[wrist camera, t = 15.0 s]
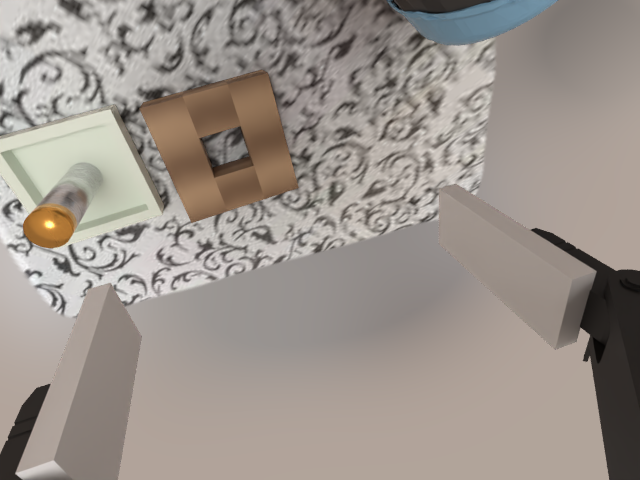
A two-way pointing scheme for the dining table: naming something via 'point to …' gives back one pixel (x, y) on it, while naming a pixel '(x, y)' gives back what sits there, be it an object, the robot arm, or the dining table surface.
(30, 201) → the tray
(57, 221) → the clear capped vial
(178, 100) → the block
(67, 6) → the dining table surface
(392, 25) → the dining table surface
